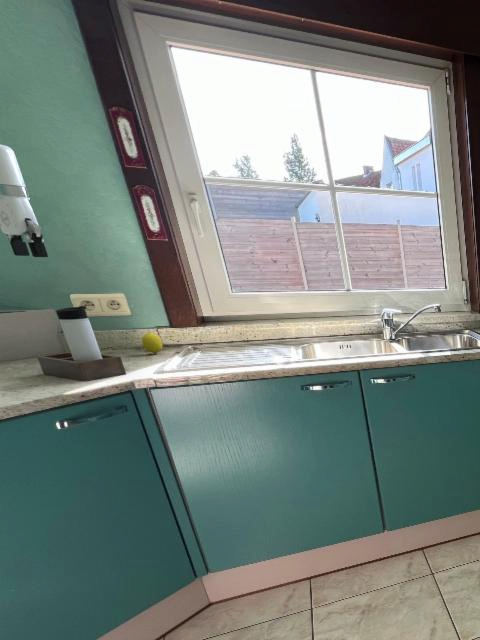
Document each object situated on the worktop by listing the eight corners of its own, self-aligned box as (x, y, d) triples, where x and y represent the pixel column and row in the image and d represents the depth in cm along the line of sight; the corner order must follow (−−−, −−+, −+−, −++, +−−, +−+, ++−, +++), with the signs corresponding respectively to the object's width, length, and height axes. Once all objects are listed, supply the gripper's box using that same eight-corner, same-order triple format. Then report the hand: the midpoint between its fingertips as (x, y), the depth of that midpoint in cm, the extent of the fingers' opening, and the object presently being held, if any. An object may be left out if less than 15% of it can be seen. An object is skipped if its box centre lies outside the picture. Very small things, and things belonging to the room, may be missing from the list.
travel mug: (112, 372, 154) (90, 306, 147) (85, 376, 149) (60, 308, 141) (102, 370, 156) (79, 305, 149) (75, 374, 151) (50, 307, 143)
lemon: (149, 356, 181) (142, 334, 178) (143, 354, 184) (136, 332, 181) (167, 353, 185) (161, 332, 182) (161, 352, 188) (155, 331, 185)
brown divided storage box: (84, 381, 147) (77, 362, 144) (43, 374, 153) (36, 356, 151) (126, 374, 156) (120, 356, 154) (86, 367, 162) (80, 350, 160)
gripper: (-26, 191, 141) (-2, 254, 147) (7, 191, 135) (30, 257, 141) (11, 194, 147) (32, 255, 153) (43, 194, 142) (64, 258, 148)
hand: (31, 256), depth 147 cm, fingers open, 9 cm apart
